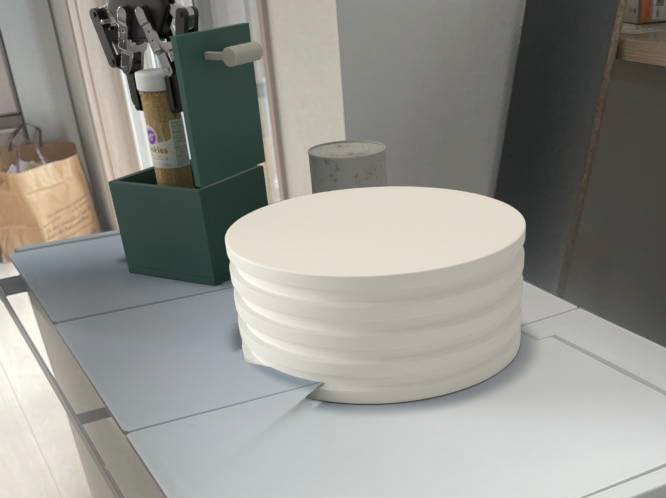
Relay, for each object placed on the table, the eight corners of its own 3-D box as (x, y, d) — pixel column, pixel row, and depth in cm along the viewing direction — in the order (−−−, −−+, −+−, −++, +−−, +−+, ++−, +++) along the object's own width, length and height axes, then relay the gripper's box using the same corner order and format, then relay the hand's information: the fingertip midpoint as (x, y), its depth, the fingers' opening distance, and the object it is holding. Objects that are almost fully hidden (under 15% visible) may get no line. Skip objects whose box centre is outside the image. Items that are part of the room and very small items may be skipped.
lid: (169, 36, 85) (209, 37, 83) (243, 22, 94) (280, 23, 92) (195, 186, 94) (231, 190, 92) (260, 161, 103) (294, 164, 101)
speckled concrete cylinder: (305, 260, 107) (294, 156, 99) (334, 237, 114) (325, 138, 106) (376, 265, 104) (370, 159, 97) (400, 241, 111) (396, 141, 104)
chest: (129, 272, 105) (107, 181, 99) (192, 242, 114) (176, 157, 108) (215, 286, 100) (199, 191, 94) (275, 254, 109) (263, 165, 103)
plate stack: (578, 352, 81) (590, 231, 74) (322, 435, 70) (307, 301, 63) (423, 274, 101) (420, 172, 94) (202, 329, 89) (181, 218, 83)
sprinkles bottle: (150, 196, 103) (124, 72, 94) (176, 187, 106) (153, 66, 98) (179, 200, 101) (155, 73, 93) (204, 191, 104) (183, 67, 96)
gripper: (204, -74, 87) (230, 107, 97) (101, -69, 93) (136, 102, 103) (156, -72, 82) (189, 120, 92) (50, -67, 88) (92, 113, 98)
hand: (161, 109), depth 98 cm, fingers closed on sprinkles bottle, 4 cm apart
